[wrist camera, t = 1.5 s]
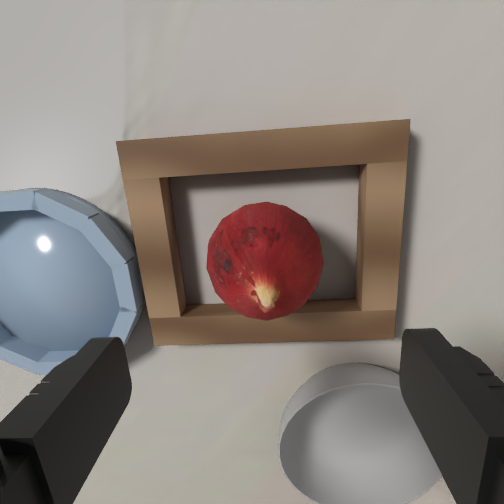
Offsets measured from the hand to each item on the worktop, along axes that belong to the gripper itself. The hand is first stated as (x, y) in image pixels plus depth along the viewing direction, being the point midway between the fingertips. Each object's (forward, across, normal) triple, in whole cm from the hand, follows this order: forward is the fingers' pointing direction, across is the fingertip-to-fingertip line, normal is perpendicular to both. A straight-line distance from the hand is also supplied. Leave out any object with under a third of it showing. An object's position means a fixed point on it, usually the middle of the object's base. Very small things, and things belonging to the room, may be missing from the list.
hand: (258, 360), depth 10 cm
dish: (+12, +14, +2) cm, 18 cm away
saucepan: (+12, -5, +17) cm, 21 cm away
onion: (+12, 0, 0) cm, 12 cm away
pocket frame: (+12, 0, 0) cm, 12 cm away
